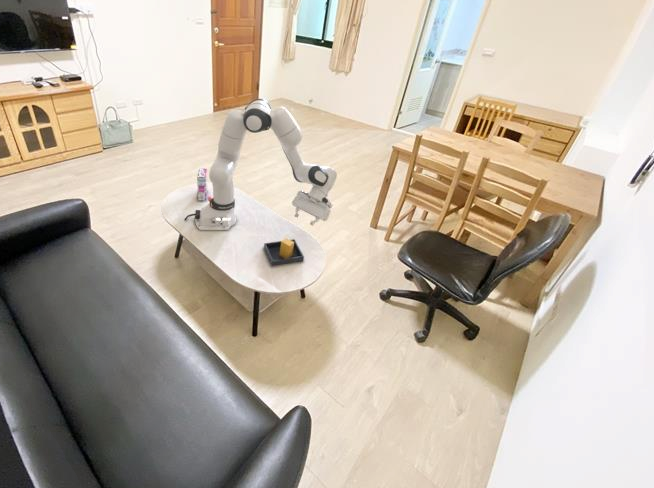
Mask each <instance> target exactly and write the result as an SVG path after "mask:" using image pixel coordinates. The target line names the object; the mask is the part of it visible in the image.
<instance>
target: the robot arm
mask: <svg viewBox="0 0 654 488" xmlns="http://www.w3.org/2000/svg"><path fill="white" fill-rule="evenodd" d="M271 108H272V107H271V105H270V103H269V102H268V101H267V99H266V100H265V99H264V98H257V99H256V98H255V99H254V100H252V101H251V102H250V103H249V104H247V106H245V108H244V110H239V109H232V110H230V111H229V112H228V114H227V115H226V118H225V120H224V122H223V126H222V127H221V128H222V129H221V134H220V136H219V139H218V144H217V146H218V148H217V149H218V150H217V154H216V157H215V160H214V161H213V163H212V165H211V166H210V169H209V173H208V178H209V181H210V182H211V184H212V191H213V192H212V196H213V197H212V196H208V197H207V201H208V202H209V203H208V204H206V205H205V206H203V207H202V208H201V209H195V211H194V212H195V213H191V214H187V216H186V217H184V221H186V220H187V219H188V218H190V217H193V216H194V220H195V221H194V223H195V226H196V228H197V229H199V230H200V231H228V230H230V229H231V227H232V226H234V225H235V224H236V223H237V217H236V212H235V207H236V200H235V185H234V181H233V178H234V173H235V171H236V168H237V166H238V162H239V158H240V154H241V151H242V147H243V144H244V141H245V137H246V135H247V131H248V132H250V133H252V134H256V133H260V132H264V131H269V130H270V129H271V130H272V132H273V133H274V135H275V136H276V138H277V140H278V142H279V143H280V145H281V148H282V151H283V153H284V155H285V157H286V159H287V161H288V163H289V165H290V167H291V170H292V176H293V179H294V180H295V181H296V182H298V183H301V184H309V185H312V187H311V188H310V190H309V192H307V191H305V190H299V191H297V193H296V196H294V198H293V199H292V201H291V205H292V206H293V207H295V214H294V218H296V219H298V218H299V216H300V214H299V212H300V211H302V212H304V213H306V214H308V215H311V216H313V217H314V220H311V221H310V223H309V225H310V226H312V227H313V226H314V225H315V224H316V223H318V222H319V221H320V220H321V221H323V222H326V221H328V220H329V217H330V215H331V212H332V208H333V203H332V202H331V201H330V200H329V199H328V196H329V192H330V191H331V190H332V189H333V187H334V185H335V183H336V180H337V177H338V172H337V171H336V170H335V169H334V168H333V167H331V166H329V165H325V166H323V165H318V164H313V163H311V164H310V163H306V162H305V161H303V159H302V157H301V155H300V152H299V151H298V148H297V147H298V145H300V144H301V142H302V139H303V133H302V130H301V128H300V126H299V125H298V123H297V121H296V120H295V118H294V117H293V115H292V114H291V112H290V111H289V110H288V109H287V108H286V107H284V106H277V107H275V108H274V109H271Z"/></svg>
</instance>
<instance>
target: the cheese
mask: <svg viewBox="0 0 654 488" xmlns="http://www.w3.org/2000/svg"><path fill="white" fill-rule="evenodd" d="M291 240H292V239H289V238H288V237H285V238H283V239H282V240H280V241H281V247H280V256H282V257H284V258H285V259H286V258H290V257H291V256H292V253H293V247H294V242H293V241H291Z"/></svg>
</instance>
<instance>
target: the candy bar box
mask: <svg viewBox="0 0 654 488" xmlns="http://www.w3.org/2000/svg"><path fill="white" fill-rule="evenodd" d="M196 177H197V180H196V181H197V202H206V201H207V195H208V169H207V168H198V171H197V176H196Z"/></svg>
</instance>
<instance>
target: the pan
mask: <svg viewBox="0 0 654 488" xmlns="http://www.w3.org/2000/svg"><path fill="white" fill-rule="evenodd" d="M290 240H291V241H293V242H294V247H293V253H292V256H291V257H290V258H286V259H285V258H284V257H282V256H280V247H281V241H282V240H278V241H272V242H264V243H263V245H264V246H263V250H264V252H265V254H266V256H267V259H268V261H269V264H270V267H276V266H283V265H289V264H294V263H301V262H304V259H305V256H304V254H303V252H302V250H301V248H300V246H299V245H298V243H297V241H296V239H295V238H293V239H290Z"/></svg>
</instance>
